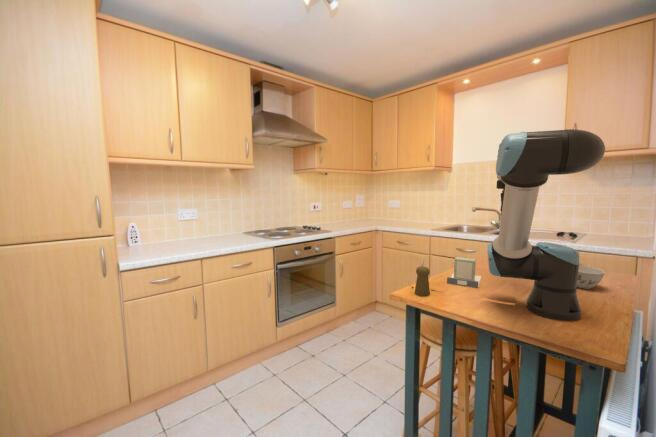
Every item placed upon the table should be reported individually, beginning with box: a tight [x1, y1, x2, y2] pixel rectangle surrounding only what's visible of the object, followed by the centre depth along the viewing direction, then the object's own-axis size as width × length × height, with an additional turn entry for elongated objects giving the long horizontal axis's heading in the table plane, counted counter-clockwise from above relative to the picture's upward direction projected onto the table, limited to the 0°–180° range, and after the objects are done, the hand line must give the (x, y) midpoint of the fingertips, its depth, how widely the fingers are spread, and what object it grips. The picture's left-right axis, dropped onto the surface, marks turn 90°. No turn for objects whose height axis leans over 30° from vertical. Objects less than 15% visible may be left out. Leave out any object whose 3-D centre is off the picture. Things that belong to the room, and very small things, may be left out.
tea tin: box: [453, 256, 477, 281], centre depth 132 cm, size 8×4×10 cm, turn 59°
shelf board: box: [446, 272, 482, 289], centre depth 135 cm, size 18×12×4 cm, turn 149°
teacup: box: [577, 264, 605, 290], centre depth 128 cm, size 15×12×8 cm
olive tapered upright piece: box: [414, 266, 431, 297], centre depth 122 cm, size 6×6×11 cm
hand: (504, 229), depth 131 cm, fingers open, 13 cm apart
